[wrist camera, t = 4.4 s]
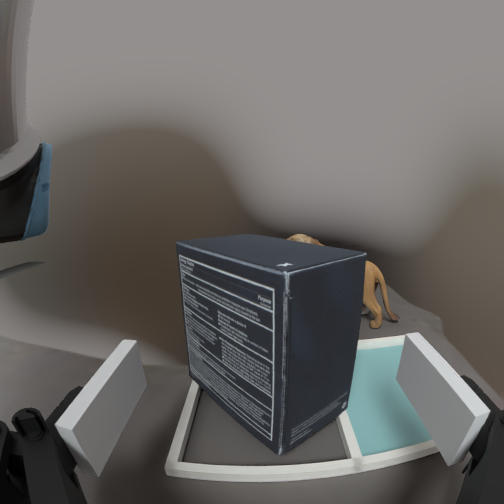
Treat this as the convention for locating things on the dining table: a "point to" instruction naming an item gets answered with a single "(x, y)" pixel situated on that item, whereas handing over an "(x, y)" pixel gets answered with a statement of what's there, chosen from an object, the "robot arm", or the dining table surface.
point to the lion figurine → (365, 287)
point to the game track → (349, 424)
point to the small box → (272, 330)
